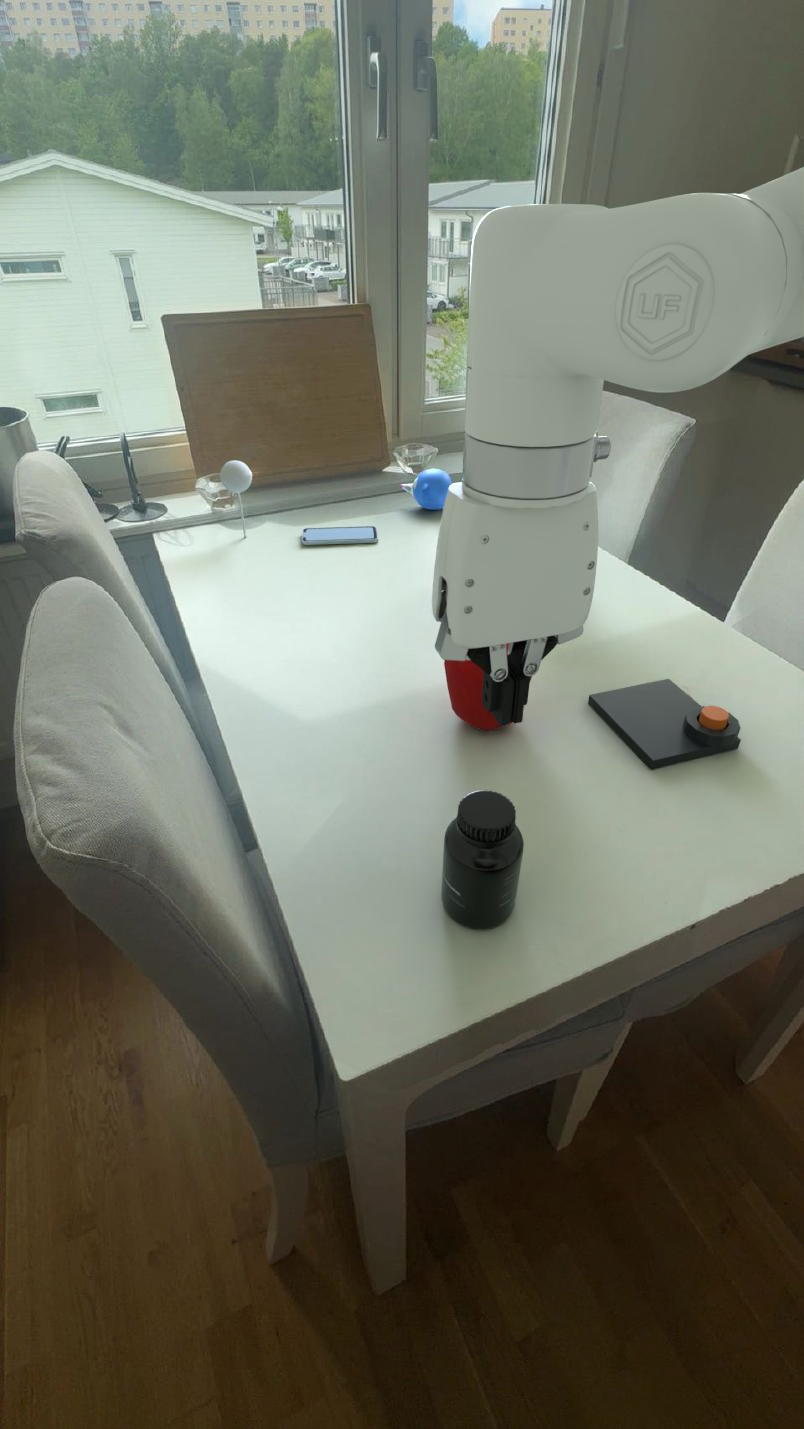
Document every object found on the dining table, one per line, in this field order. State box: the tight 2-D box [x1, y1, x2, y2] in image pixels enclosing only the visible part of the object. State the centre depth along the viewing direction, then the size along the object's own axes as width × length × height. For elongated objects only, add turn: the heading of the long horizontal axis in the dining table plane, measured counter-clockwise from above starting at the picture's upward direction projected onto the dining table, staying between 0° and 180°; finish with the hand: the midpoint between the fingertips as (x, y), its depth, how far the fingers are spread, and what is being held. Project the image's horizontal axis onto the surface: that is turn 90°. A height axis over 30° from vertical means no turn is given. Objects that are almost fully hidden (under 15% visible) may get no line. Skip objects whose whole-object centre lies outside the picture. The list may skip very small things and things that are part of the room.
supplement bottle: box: [441, 789, 524, 931], centre depth 59 cm, size 7×7×12 cm
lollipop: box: [219, 460, 253, 538], centre depth 133 cm, size 6×6×15 cm
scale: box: [587, 678, 742, 771], centre depth 83 cm, size 14×12×3 cm
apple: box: [443, 643, 533, 732], centre depth 82 cm, size 10×10×14 cm
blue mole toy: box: [399, 468, 453, 511], centre depth 147 cm, size 12×12×8 cm
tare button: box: [699, 705, 729, 730], centre depth 80 cm, size 3×3×2 cm
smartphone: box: [301, 525, 379, 546], centre depth 136 cm, size 7×1×15 cm
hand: (503, 713), depth 51 cm, fingers closed
